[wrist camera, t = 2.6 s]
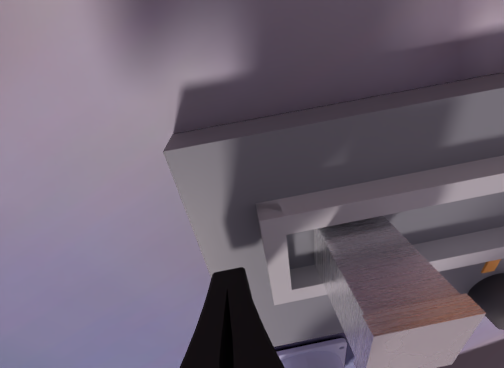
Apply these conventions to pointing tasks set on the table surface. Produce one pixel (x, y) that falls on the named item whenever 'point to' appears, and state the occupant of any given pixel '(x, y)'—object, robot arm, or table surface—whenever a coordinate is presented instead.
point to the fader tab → (391, 297)
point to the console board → (350, 194)
